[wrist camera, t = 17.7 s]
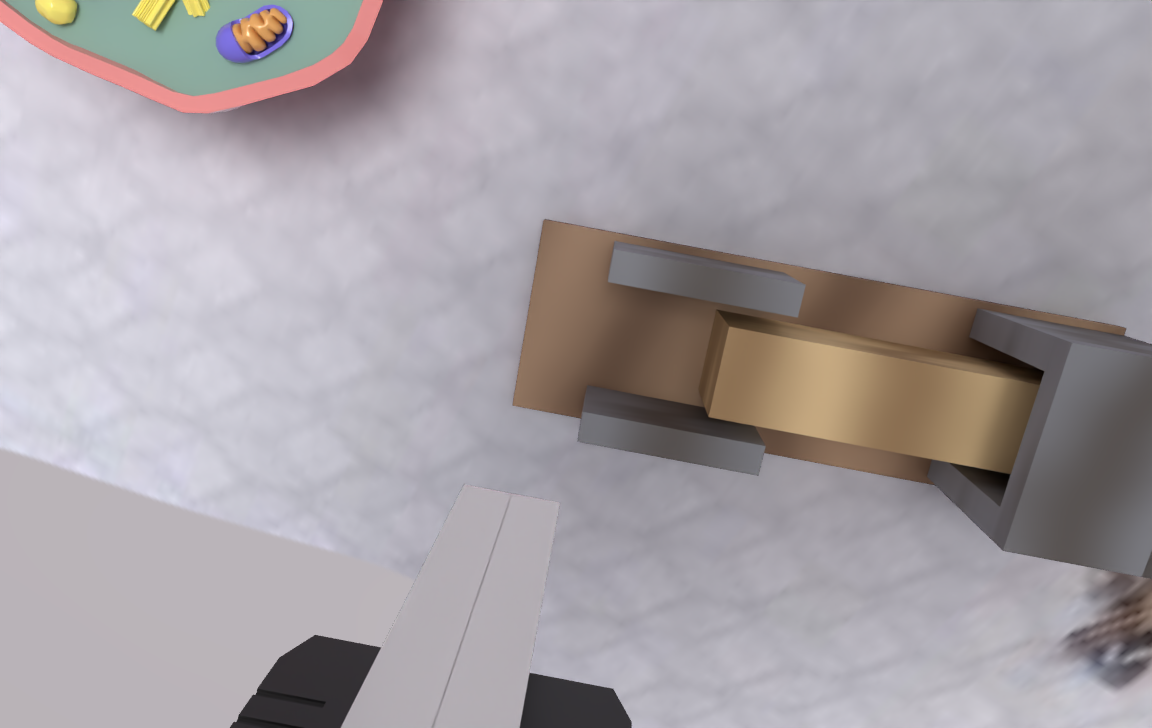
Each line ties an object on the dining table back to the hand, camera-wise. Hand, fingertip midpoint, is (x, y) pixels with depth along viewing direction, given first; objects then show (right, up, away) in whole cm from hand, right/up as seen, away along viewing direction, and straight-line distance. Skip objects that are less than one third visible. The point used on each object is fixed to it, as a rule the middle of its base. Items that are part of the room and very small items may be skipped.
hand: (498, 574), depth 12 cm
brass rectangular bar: (+14, +3, +21) cm, 25 cm away
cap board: (+11, +3, +22) cm, 25 cm away
